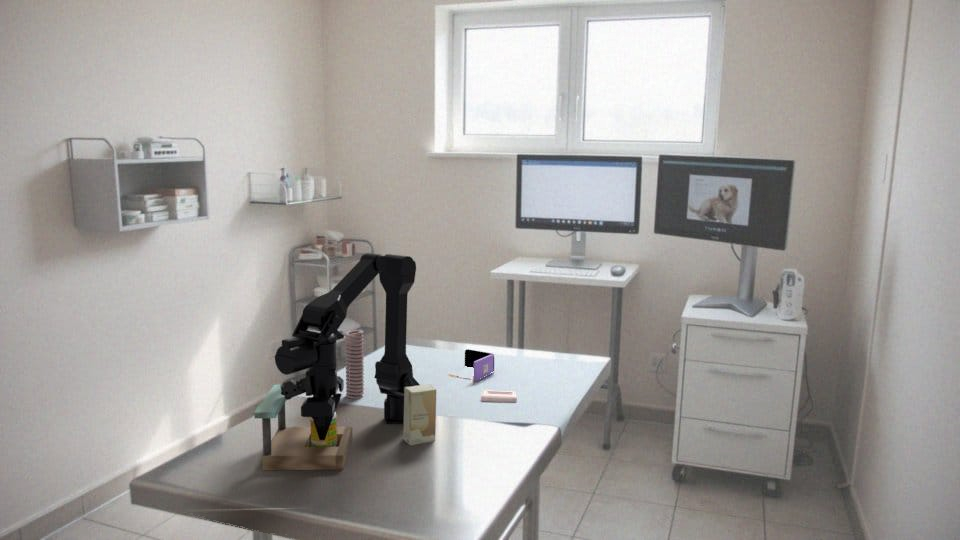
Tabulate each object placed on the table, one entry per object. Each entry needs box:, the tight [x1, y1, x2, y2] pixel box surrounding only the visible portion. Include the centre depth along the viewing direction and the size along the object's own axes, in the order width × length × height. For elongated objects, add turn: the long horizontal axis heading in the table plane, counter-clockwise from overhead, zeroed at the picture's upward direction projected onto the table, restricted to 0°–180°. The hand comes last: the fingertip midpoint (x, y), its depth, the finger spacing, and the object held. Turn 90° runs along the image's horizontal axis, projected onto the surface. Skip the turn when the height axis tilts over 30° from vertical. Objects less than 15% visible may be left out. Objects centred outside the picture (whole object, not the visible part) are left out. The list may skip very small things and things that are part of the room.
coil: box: [344, 329, 365, 400], centre depth 190 cm, size 5×5×18 cm
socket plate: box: [253, 384, 353, 471], centre depth 154 cm, size 17×18×12 cm
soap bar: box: [480, 389, 518, 403], centre depth 191 cm, size 5×9×2 cm, turn 86°
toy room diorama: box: [447, 349, 495, 382], centre depth 211 cm, size 12×12×7 cm
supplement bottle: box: [309, 412, 338, 447], centre depth 154 cm, size 5×5×10 cm
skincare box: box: [402, 384, 437, 446], centre depth 162 cm, size 6×4×12 cm
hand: (324, 434), depth 154 cm, fingers closed on supplement bottle, 5 cm apart
